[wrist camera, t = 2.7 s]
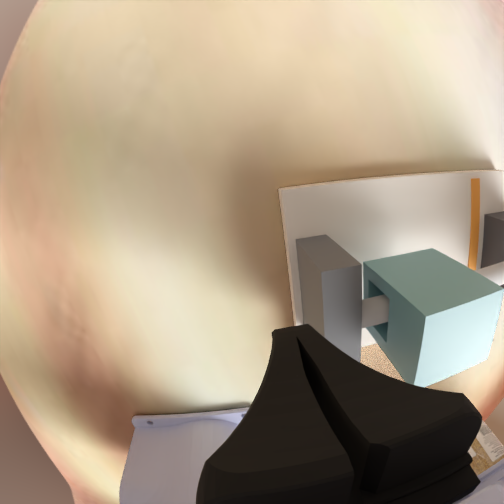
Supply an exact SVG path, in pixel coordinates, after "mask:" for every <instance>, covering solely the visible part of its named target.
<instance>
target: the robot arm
mask: <svg viewBox="0 0 504 504" xmlns="http://www.w3.org/2000/svg"><path fill="white" fill-rule="evenodd" d="M272 338H273V341H272V350H271V355H270V359H269V363H268V367H267V370H266V372H265V375H264V378H263V381H262V383H261V386H260V388H259V390H258V393H257V395H256V397H255V399H254V401H253V402H252V404H251V406H250V407H246V408H239V409H231V410H222V411H212V412H202V413H189V414H172V415H139V416H133V418H132V424H133V425H134V427H135V430H134V433H133V437H132V441H131V444H130V448H129V452H128V456H127V459H126V463H125V467H124V471H123V475H122V479H121V484H120V493H119V496H120V504H504V458H503V459H502V460H500V461H499V462H497V463H496V464H494V465H493V466H491V467H490V468H488V469H487V470H485V471H484V472H482V473H481V474H479V475H476V473H475V472H474V470H473V469H472V467H471V466H470V464H471V463H472V462H473V458H472V457H471V455H470V454H469V452H468V450H469V449H470V447H471V445H472V443H473V442H474V440H475V438H476V436H477V434H478V432H479V430H480V427H481V424H482V416H481V414H480V413H479V412H478V410H477V409H476V408H475V406H474V405H473V404H472V403H471V402H470V401H469V399H468V398H467V397H466V396H465V395H464V394H463V393H455V392H447V391H440V390H433V389H429V388H424V387H420V386H416V385H413V384H409V383H406V382H403V381H400V380H397V379H394V378H392V377H389V376H386V375H384V374H382V373H379V372H377V371H375V370H373V369H371V368H369V367H367V366H365V365H363V364H362V363H360V362H358V361H356V360H355V359H353V358H352V357H350V356H349V355H347V354H346V353H344V352H343V351H341V350H340V349H339V348H337V347H336V346H335V345H333V344H332V343H331V342H329V341H328V340H327V339H326V338H325V337H323V336H322V335H321V334H320V333H319V332H317V331H316V330H315V329H314V328H313V327H312V326H311V325H309V324H303V325H298V326H293V327H287V328H282V329H276V330H274V331H273V332H272ZM244 413H245V414H244ZM151 421H152V422H151Z"/></svg>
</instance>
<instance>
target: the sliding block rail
mask: <svg viewBox="0 0 504 504" xmlns="http://www.w3.org/2000/svg"><path fill="white" fill-rule="evenodd" d="M278 192H279V200H280V208H281V215H282V223H283V231H284V239H285V247H286V256H287V264H288V273H289V282H290V291H291V301H292V310H293V320H294V326H298V325H303V324H309V325H311V326H312V327H313V328H314V329H315V330H316V331H317V332H319V333H320V334H321V335H322V336H323V337H325V338H326V339H327V340H328V341H329V342H331V343H332V344H333V345H335V346H336V347H337V348H339V349H340V350H341V351H343V352H344V353H346V354H347V355H349V356H350V357H352V358H353V359H355V360H356V361H358V362H360V356H361V347H365V346H369V345H372V344H376V343H377V342H376V341H375V339H374V338H373V337H372V335H371V334H370V333H369V331H368V330H367V329H366V327H370V326H374V325H378V324H382V323H385V322H388V317H389V300H390V299H389V298H388V297H387V296H386V295H385V294H384V295H380V296H376V297H371V298H367V299H363V262H365V261H370V260H375V259H380V258H385V257H390V256H396V255H401V254H406V253H410V252H415V251H420V250H425V249H430V248H433V249H435V250H437V251H439V252H441V253H443V254H445V255H447V256H448V257H450V258H452V259H454V260H456V261H458V262H459V263H461V264H463V265H465V266H467V267H468V268H470V269H472V270H474V271H475V272H477V273H479V274H481V275H482V276H484V277H486V278H488V279H489V280H491V281H493V282H494V283H496V284H498V285H499V286H501V287H503V288H504V171H502V170H468V171H447V172H430V173H416V174H402V175H390V176H379V177H368V178H358V179H349V180H340V181H331V182H322V183H314V184H306V185H299V186H291V187H284V188H278Z"/></svg>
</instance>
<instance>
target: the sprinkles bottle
mask: <svg viewBox="0 0 504 504" xmlns="http://www.w3.org/2000/svg"><path fill="white" fill-rule="evenodd" d="M468 452H469V454H470V455H471V457H472V458H473V462H472V463H471V464H470V466H471V467H472V469H473V470H474V472H475V473H476V475H479V474H481V473H482V472H484V471H485V470H487V469H488V468H490V467H491V466H493V465H494V464H496V463H497V462H499V461H500V460H502V459H503V458H504V446H503V445H502V444H501V442H500V441H499V440H498V439H497V437H496V436H495V435H494V434H493V432H492V431H491V430H490V429H489V428H488V426H487V425H486V424H485V422H484V421H482V424H481V427H480V430H479V432H478V434H477V436H476V438H475V440H474V442H473V443H472V445H471V447H470V449H469V450H468Z"/></svg>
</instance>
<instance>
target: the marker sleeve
mask: <svg viewBox="0 0 504 504" xmlns="http://www.w3.org/2000/svg"><path fill="white" fill-rule="evenodd" d="M384 294H385V295H386V296H387V297H388V298H389V299H390V300H389V317H388V322H385V323H382V324H378V325H374V326H370V327H366V329H367V330H368V331H369V333H370V334H371V335H372V337H373V338H374V339H375V341H376V342H377V344H378V345H379V346H380V348H381V349H382V350H383V352H384V353H385V354H386V356H387V357H388V359H389V360H390V361H391V363H392V364H393V365H394V367H395V368H396V370H397V371H398V372H399V374H400V375H401V377H402V378H403V379H404V381H405V382H406V383H409V384H413V385H416V386H420V387H426V386H429V385H432V384H434V383H436V382H439V381H441V380H444V379H446V378H448V377H451V376H453V375H455V374H457V373H460V372H462V371H464V370H466V369H468V368H470V367H472V366H474V365H476V364H478V363H480V362H482V361H484V360H486V359H487V358H488V355H489V351H490V348H491V345H492V341H493V337H494V334H495V330H496V326H497V322H498V318H499V313H500V309H501V304H502V299H503V294H504V288H503V287H501V286H499V285H498V284H496V283H494V282H493V281H491V280H489V279H488V278H486V277H484V276H482V275H481V274H479V273H477V272H475V271H474V270H472V269H470V268H468V267H467V266H465V265H463V264H461V263H459V262H458V261H456V260H454V259H452V258H450V257H448V256H447V255H445V254H443V253H441V252H439V251H437V250H435V249H433V248H430V249H425V250H420V251H415V252H410V253H406V254H401V255H396V256H390V257H385V258H380V259H375V260H370V261H365V262H363V299H367V298H371V297H376V296H380V295H384Z"/></svg>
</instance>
